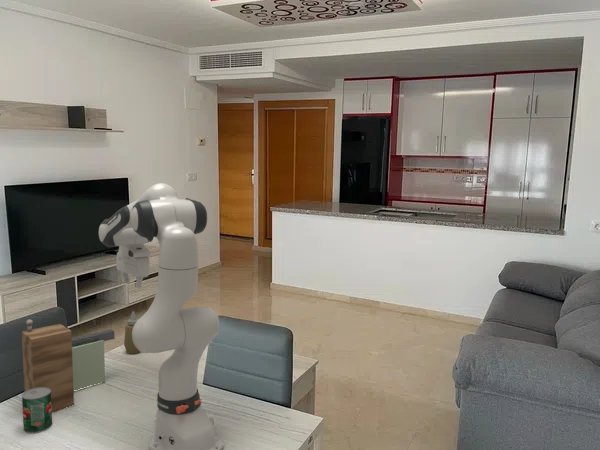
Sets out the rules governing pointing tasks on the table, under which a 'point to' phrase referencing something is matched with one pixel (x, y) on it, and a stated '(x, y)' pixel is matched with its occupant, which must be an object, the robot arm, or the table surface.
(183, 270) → the robot arm
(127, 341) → the squeeze bottle
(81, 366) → the pale green block
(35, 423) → the canned tomato
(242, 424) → the table surface
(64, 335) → the tower
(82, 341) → the strut
